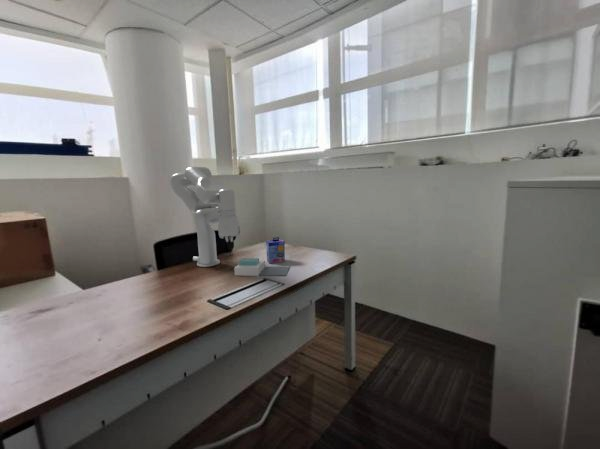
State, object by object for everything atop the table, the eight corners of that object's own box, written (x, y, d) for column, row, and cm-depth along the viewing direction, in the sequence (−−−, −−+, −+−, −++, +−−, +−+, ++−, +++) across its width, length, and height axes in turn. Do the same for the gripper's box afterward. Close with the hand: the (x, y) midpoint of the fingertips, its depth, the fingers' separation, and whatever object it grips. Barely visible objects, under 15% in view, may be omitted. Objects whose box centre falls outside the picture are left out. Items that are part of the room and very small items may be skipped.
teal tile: (238, 265, 141) (238, 261, 140) (242, 261, 146) (242, 258, 146) (256, 265, 140) (256, 261, 139) (259, 262, 145) (258, 258, 145)
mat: (259, 275, 136) (259, 274, 136) (265, 267, 150) (265, 266, 150) (285, 276, 135) (285, 275, 135) (289, 267, 148) (289, 266, 148)
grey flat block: (234, 275, 137) (234, 267, 137) (243, 266, 151) (242, 259, 150) (258, 275, 136) (258, 267, 135) (264, 267, 150) (264, 259, 149)
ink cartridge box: (269, 263, 156) (268, 238, 154) (266, 261, 161) (265, 236, 159) (285, 261, 160) (284, 236, 158) (282, 259, 165) (281, 235, 163)
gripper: (210, 214, 137) (214, 251, 139) (240, 213, 135) (242, 250, 138) (216, 213, 144) (219, 247, 147) (244, 212, 143) (247, 247, 145)
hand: (230, 249), depth 142 cm, fingers closed
